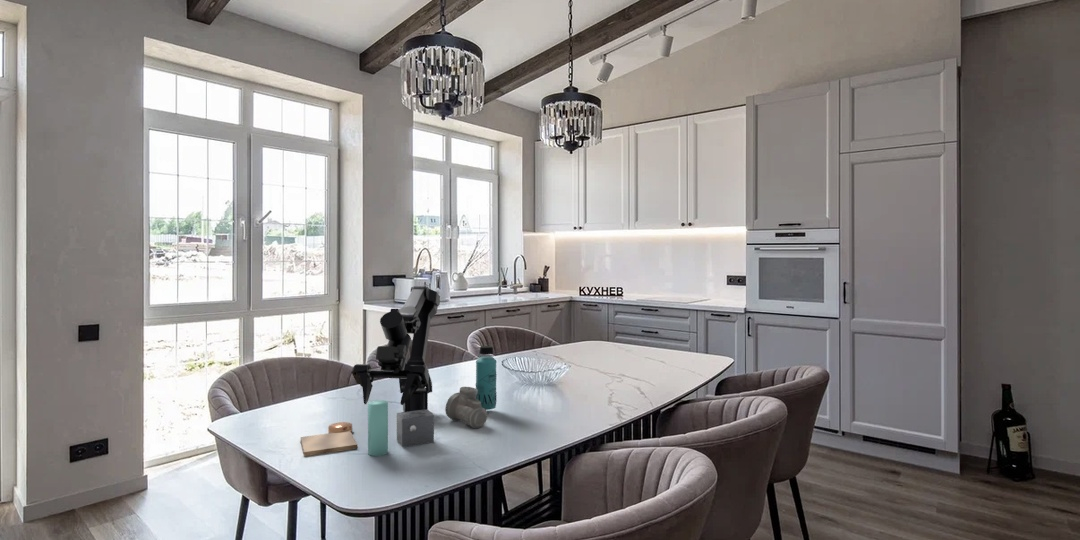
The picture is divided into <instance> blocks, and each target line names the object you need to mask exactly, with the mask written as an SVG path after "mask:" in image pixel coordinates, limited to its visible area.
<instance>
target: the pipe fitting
mask: <svg viewBox="0 0 1080 540" xmlns="http://www.w3.org/2000/svg"><path fill="white" fill-rule="evenodd" d="M477 392H478V390H477V389H476V387H472V386H461V387H459V391H458V392H456V393H453V394H452V395H451V396H450V397H448V399H447V401H446V404H445V408H444V411H445V415H446V416H447V418H449V419H450V420H452V421H454V422H463V423H465V424H466V425H467V426H469V427H471V428H473V429H480V428H482V427H484V425H485V424H486V423H487V421H488V410H485V409H484V408H483V407H481V402H480V401H479V400H477V399H476V395H477Z"/></svg>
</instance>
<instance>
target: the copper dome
mask: <svg viewBox="0 0 1080 540" xmlns="http://www.w3.org/2000/svg"><path fill="white" fill-rule="evenodd" d="M327 427H328V428H327V429H328V431H327V434H328V433H336V432H343V431H350V432H352V433H353V423H351V422H347V421H344V422H343V421H342V422H334V423H331V424H329V425H328V426H327Z"/></svg>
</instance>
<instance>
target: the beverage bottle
mask: <svg viewBox="0 0 1080 540" xmlns="http://www.w3.org/2000/svg"><path fill="white" fill-rule="evenodd" d="M479 354H480V355H487V356H480V357H478V358H477V360H475V367H476V368H475V384H474V385H475V389H477V390H478V392H477V395H476V399H477V400H479V401H480V402H481V407H483V408H484V409H485V410H486V411H488V410H493V409H495V408H496V407H497V394H498V393H497V377H498V376H497V375H498V373H497V360H496V358H494V356H488V355H492V354H493V355H494V347H493V346H492V345H483V346H480V347H479Z"/></svg>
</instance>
